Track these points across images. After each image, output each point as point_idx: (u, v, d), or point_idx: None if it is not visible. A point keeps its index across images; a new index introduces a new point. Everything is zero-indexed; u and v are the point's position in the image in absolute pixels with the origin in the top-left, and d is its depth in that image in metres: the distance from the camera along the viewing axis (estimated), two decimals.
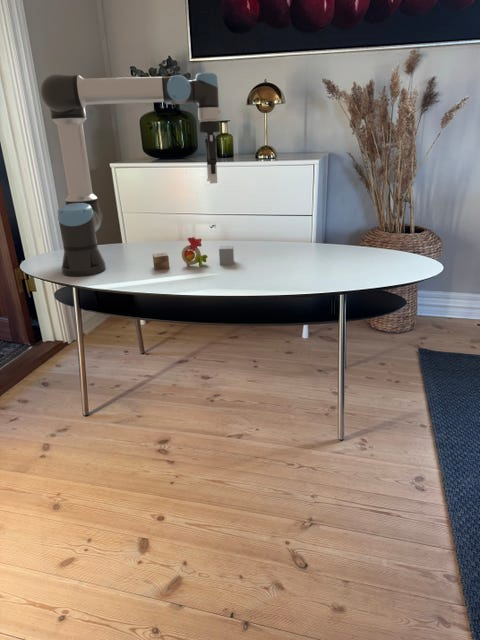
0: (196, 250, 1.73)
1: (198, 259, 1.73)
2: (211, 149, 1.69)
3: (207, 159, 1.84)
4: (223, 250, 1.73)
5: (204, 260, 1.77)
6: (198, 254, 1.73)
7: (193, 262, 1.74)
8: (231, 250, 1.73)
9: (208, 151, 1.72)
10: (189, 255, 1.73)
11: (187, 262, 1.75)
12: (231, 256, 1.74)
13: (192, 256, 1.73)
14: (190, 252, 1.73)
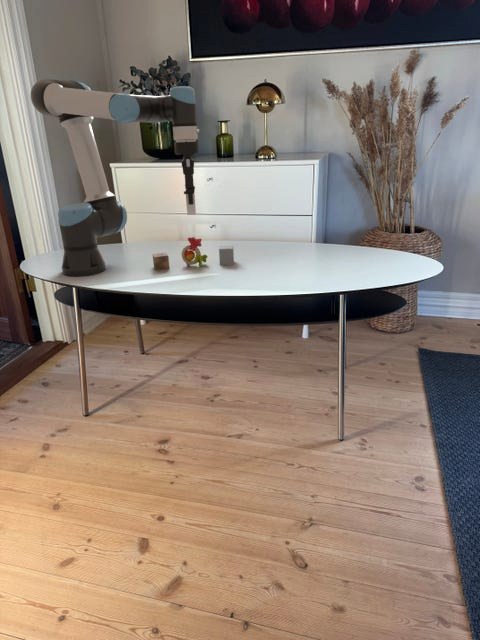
0: (196, 250, 1.73)
1: (198, 259, 1.73)
2: (188, 176, 1.47)
3: (186, 186, 1.61)
4: (223, 250, 1.73)
5: (204, 260, 1.77)
6: (198, 254, 1.73)
7: (193, 262, 1.74)
8: (231, 250, 1.73)
9: None
10: (189, 255, 1.73)
11: (187, 262, 1.75)
12: (231, 256, 1.74)
13: (192, 256, 1.73)
14: (190, 252, 1.73)
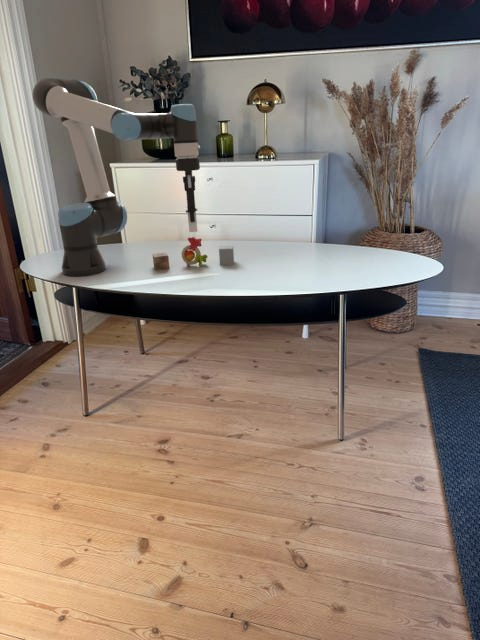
0: (196, 250, 1.73)
1: (198, 259, 1.73)
2: (190, 197, 1.52)
3: (188, 206, 1.59)
4: (223, 250, 1.73)
5: (204, 260, 1.77)
6: (198, 254, 1.73)
7: (193, 262, 1.74)
8: (231, 250, 1.73)
9: None
10: (189, 255, 1.73)
11: (187, 262, 1.75)
12: (231, 256, 1.74)
13: (192, 256, 1.73)
14: (190, 252, 1.73)
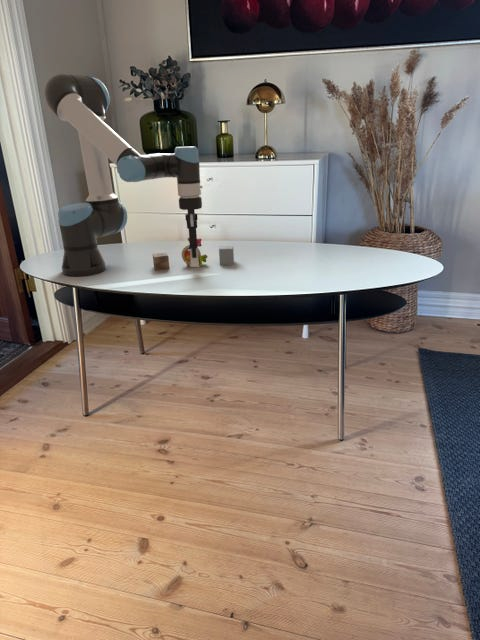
0: None
1: (198, 259, 1.73)
2: (192, 235, 1.57)
3: None
4: (223, 250, 1.73)
5: (204, 260, 1.77)
6: (198, 254, 1.73)
7: None
8: (231, 250, 1.73)
9: None
10: (189, 255, 1.73)
11: (187, 262, 1.75)
12: (231, 256, 1.74)
13: None
14: None
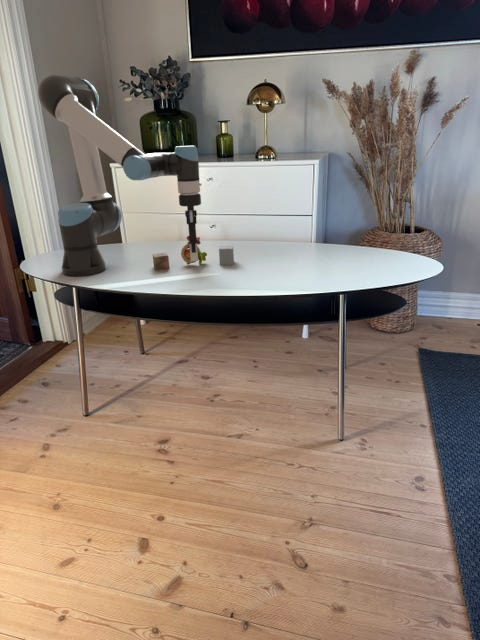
0: None
1: (198, 256, 1.75)
2: (191, 231, 1.64)
3: None
4: (223, 250, 1.73)
5: (204, 258, 1.78)
6: (198, 251, 1.75)
7: None
8: (231, 250, 1.73)
9: None
10: (189, 253, 1.74)
11: (187, 260, 1.76)
12: (231, 256, 1.74)
13: None
14: None
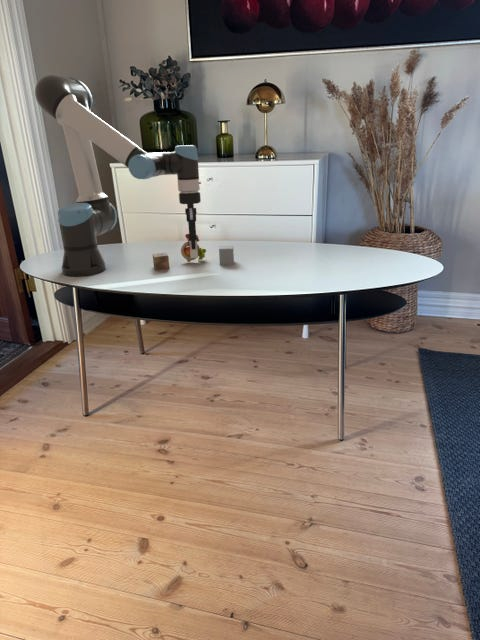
0: None
1: (198, 253, 1.79)
2: (191, 228, 1.69)
3: None
4: (223, 250, 1.73)
5: None
6: (198, 248, 1.79)
7: None
8: (231, 250, 1.73)
9: None
10: None
11: (188, 258, 1.79)
12: (231, 256, 1.74)
13: None
14: None
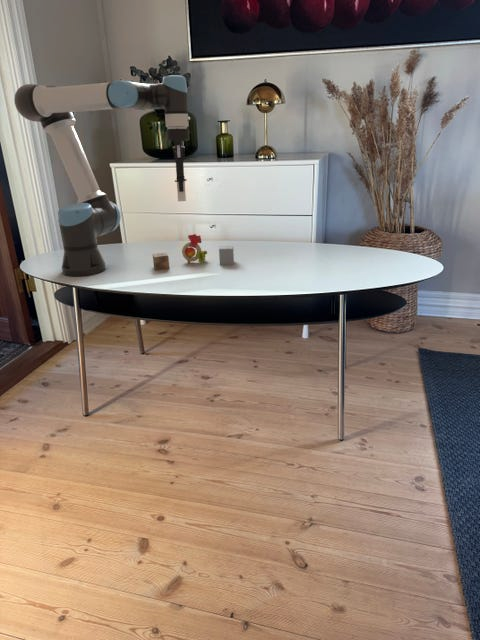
0: (197, 247, 1.78)
1: (199, 255, 1.79)
2: (178, 167, 1.58)
3: None
4: (223, 250, 1.73)
5: (203, 256, 1.82)
6: (199, 250, 1.78)
7: (194, 258, 1.79)
8: (231, 250, 1.73)
9: None
10: (191, 252, 1.78)
11: (188, 259, 1.79)
12: (231, 256, 1.74)
13: (193, 253, 1.78)
14: (191, 249, 1.78)
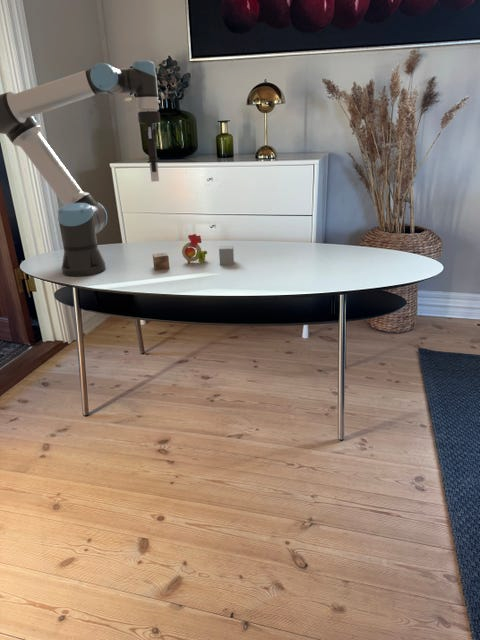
0: (197, 247, 1.78)
1: (199, 255, 1.79)
2: (150, 148, 1.67)
3: None
4: (223, 250, 1.73)
5: (203, 256, 1.82)
6: (199, 250, 1.78)
7: (194, 258, 1.79)
8: (231, 250, 1.73)
9: None
10: (191, 252, 1.78)
11: (188, 259, 1.79)
12: (231, 256, 1.74)
13: (193, 253, 1.78)
14: (191, 249, 1.78)
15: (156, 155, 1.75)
